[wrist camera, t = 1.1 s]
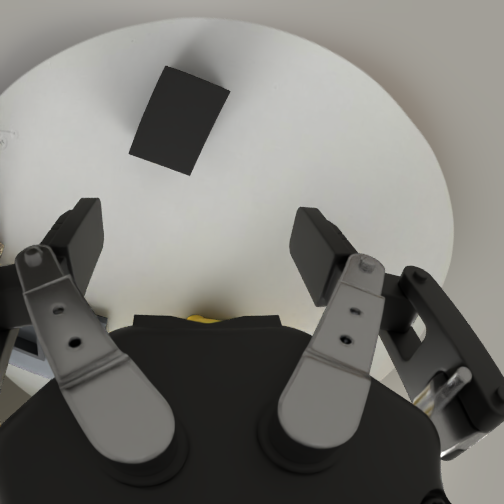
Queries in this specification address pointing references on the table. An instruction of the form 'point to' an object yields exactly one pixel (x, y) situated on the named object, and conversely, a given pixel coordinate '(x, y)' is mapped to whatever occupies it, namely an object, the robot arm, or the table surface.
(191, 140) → the black block
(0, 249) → the box
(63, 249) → the robot arm
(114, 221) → the table surface
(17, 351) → the base pad
